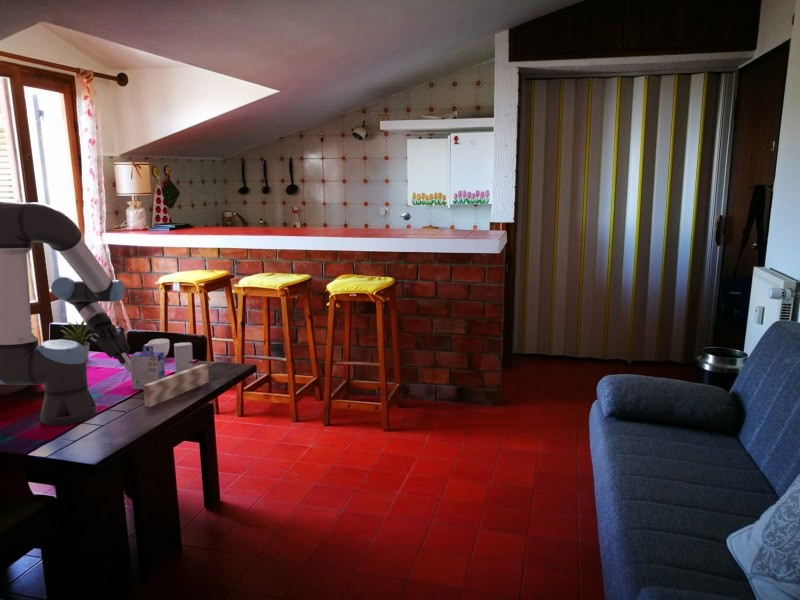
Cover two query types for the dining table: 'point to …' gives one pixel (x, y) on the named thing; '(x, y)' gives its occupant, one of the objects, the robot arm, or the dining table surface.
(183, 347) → the skincare box
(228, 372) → the dining table surface
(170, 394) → the board
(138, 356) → the ink cartridge box
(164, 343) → the cup
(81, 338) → the house plant
